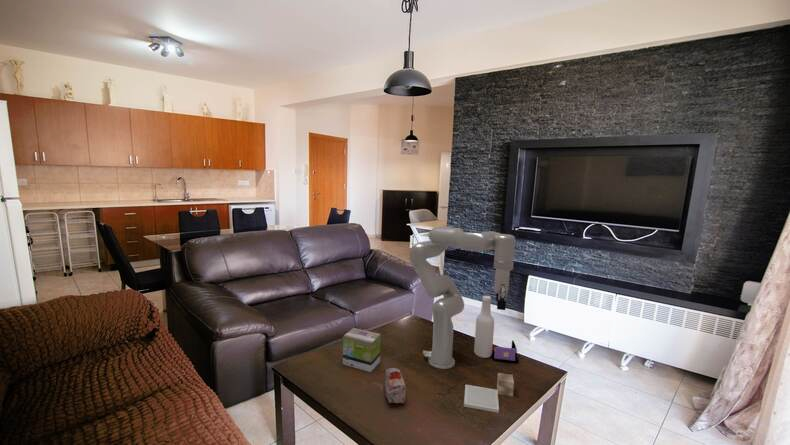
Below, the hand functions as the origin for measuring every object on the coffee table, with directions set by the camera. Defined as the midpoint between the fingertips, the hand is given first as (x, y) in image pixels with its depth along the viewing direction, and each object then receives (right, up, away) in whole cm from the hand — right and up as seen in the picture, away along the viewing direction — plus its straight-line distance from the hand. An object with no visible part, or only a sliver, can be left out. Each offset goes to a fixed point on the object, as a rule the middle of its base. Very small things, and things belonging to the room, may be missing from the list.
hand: (500, 305), depth 143 cm
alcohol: (+1, -33, +33) cm, 46 cm away
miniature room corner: (+11, -33, +32) cm, 47 cm away
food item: (-44, -36, -3) cm, 57 cm away
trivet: (-9, -37, -4) cm, 38 cm away
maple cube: (+3, -31, +2) cm, 31 cm away
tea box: (-59, -33, +20) cm, 70 cm away
